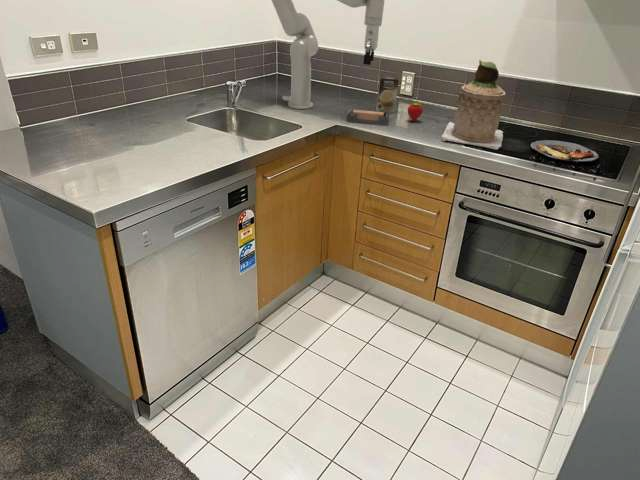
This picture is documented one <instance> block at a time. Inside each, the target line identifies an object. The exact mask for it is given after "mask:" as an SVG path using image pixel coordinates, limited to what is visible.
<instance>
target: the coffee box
mask: <svg viewBox="0 0 640 480" xmlns="http://www.w3.org/2000/svg"><path fill="white" fill-rule="evenodd" d="M399 82H400V78H399V77H398V76H389V75H388V76H387V75H380V76H379V83H378V89H377V91H378V92H377V99H376V107H375V112H386V113H391V114H393V113H394V114H395V112H396V103H397V95H398V88H399Z"/></svg>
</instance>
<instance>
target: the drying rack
mask: <svg viewBox="0 0 640 480" xmlns="http://www.w3.org/2000/svg"><path fill="white" fill-rule="evenodd" d="M353 110H354V109H348V110H347V112H346V120H345V123H353V124H365V125H376V126H386V127H388V126H389V120H390V113H389V112H384V116H379V120H378V121H375V120H364V119H357V114H353Z"/></svg>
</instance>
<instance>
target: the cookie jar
mask: <svg viewBox="0 0 640 480" xmlns="http://www.w3.org/2000/svg"><path fill="white" fill-rule="evenodd" d="M478 61H479V64H478V66H477V69H476V71H475V78H474V79H473V80H472V81H470V82H469V83H468V84H466V85H465V84H464V85H462V86H461V87H460V92H459V94H458V99H457V104H458V106H457V107H456V111H455V115H454V117H453V118H454V122H452V121H449V122H448V124H447V125H446V126H445V127H446V128H445V129H444V132H443V133H442V135H441V138H442V141H444V143H445V142H446V141H448V142H452V143H453V142H454V143H458V144H466V145H472V146H477V147H483V148H487V149H492V150H495V151H496V150H499V149H500V148H501V147H502V142H503V140H504V139H503V138H504V134H503V133H504V131H502V130H500V129H498V128H499V124H500V119H501V116H502V115H501V113H502V112H501V109H502V105H503V100H504V99H505V97H506V95H507V94H506V92H505V90H503V88H502V87H501V86H499V85H497V84H496V82H497V80H499V75H500V74H499V70H498V68H497V66H496V64H495V62H492V61H482V60H481V59H479V60H478Z"/></svg>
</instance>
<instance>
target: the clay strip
mask: <svg viewBox="0 0 640 480" xmlns="http://www.w3.org/2000/svg"><path fill="white" fill-rule="evenodd" d="M353 114H357V119H364V120H375V121H378V120H379V116H384V112H377V111H376V110H375V111H374V110H361V109H353Z"/></svg>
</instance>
